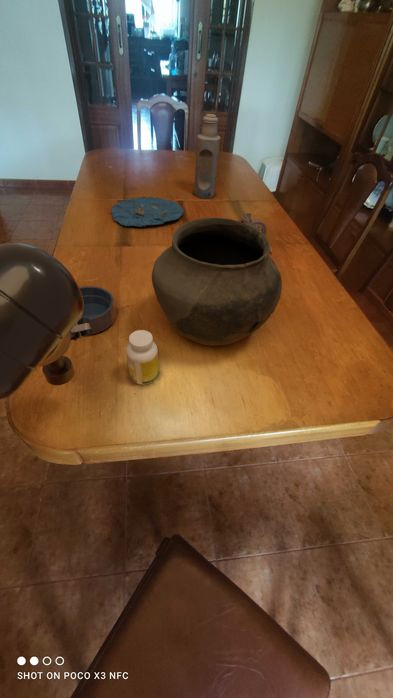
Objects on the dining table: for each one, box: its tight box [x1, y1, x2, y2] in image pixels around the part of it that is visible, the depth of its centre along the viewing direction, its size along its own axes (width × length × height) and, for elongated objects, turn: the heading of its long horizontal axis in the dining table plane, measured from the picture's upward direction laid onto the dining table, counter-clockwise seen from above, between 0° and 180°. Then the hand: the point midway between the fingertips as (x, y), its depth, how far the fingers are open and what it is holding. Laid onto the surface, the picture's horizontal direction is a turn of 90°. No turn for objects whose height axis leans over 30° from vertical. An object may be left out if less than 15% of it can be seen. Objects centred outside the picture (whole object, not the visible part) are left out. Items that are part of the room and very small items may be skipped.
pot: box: [151, 217, 283, 346], centre depth 75 cm, size 29×32×25 cm
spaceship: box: [241, 212, 273, 255], centre depth 114 cm, size 8×35×8 cm
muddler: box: [41, 355, 75, 386], centre depth 52 cm, size 5×5×11 cm
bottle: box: [193, 113, 221, 199], centre depth 135 cm, size 10×10×30 cm
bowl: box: [79, 285, 117, 336], centre depth 81 cm, size 14×14×6 cm
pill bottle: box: [125, 329, 160, 385], centre depth 67 cm, size 6×6×12 cm
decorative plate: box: [110, 196, 184, 228], centre depth 126 cm, size 30×30×5 cm
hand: (48, 339), depth 53 cm, fingers closed on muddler, 3 cm apart
